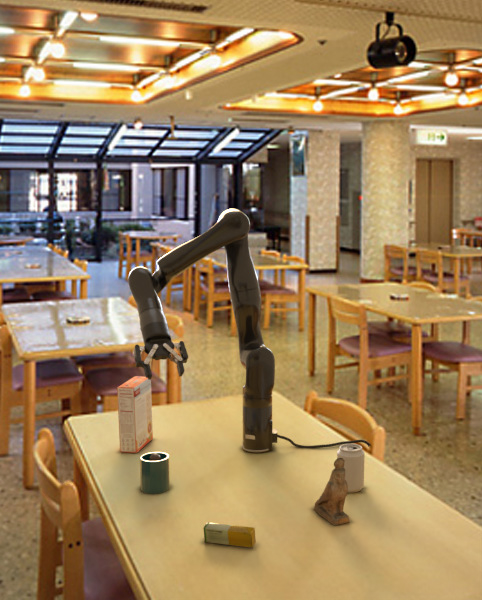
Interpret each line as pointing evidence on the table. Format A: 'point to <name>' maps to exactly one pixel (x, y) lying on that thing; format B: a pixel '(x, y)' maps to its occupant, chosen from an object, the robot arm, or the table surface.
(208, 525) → the medication box
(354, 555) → the table surface
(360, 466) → the can
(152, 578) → the table surface
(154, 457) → the game pawn
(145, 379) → the cracker box
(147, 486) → the cup
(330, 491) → the worn brown figurine
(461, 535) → the table surface
